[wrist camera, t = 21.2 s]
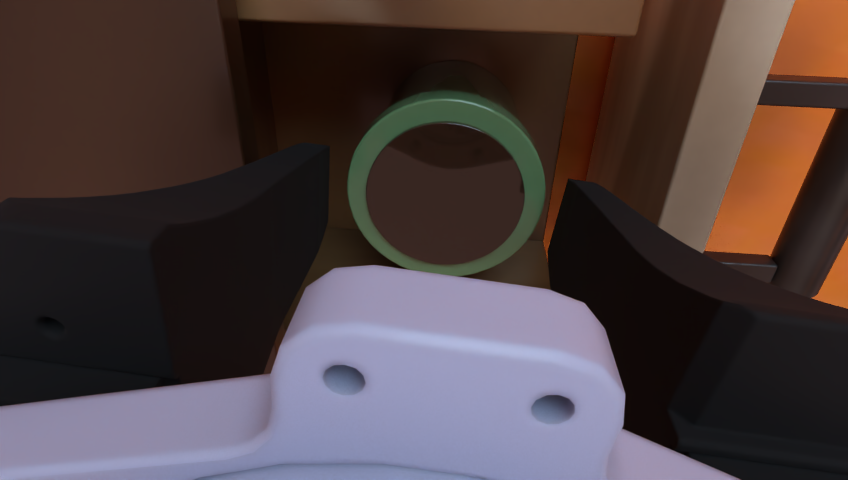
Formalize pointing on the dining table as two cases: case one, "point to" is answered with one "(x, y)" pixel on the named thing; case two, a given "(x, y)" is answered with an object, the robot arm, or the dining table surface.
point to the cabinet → (121, 97)
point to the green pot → (447, 173)
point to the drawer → (560, 108)
